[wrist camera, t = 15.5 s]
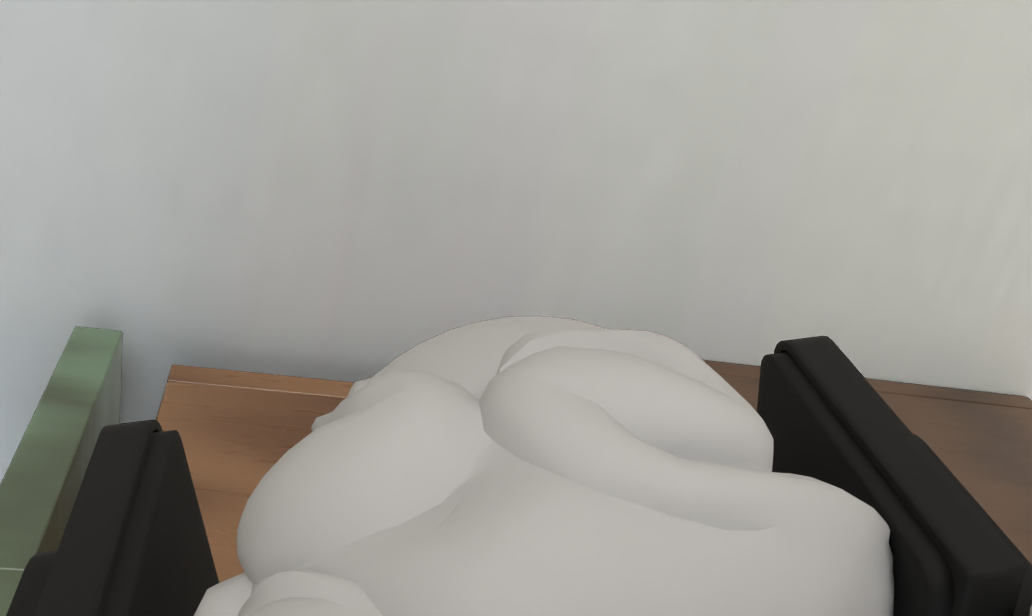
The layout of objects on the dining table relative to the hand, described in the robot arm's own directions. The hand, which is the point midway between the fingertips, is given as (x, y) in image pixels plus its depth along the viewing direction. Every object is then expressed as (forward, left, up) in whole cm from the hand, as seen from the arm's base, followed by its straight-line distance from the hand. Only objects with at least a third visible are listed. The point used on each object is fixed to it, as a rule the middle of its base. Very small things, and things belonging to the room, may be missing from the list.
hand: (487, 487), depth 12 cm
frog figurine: (0, 0, -1) cm, 1 cm away
